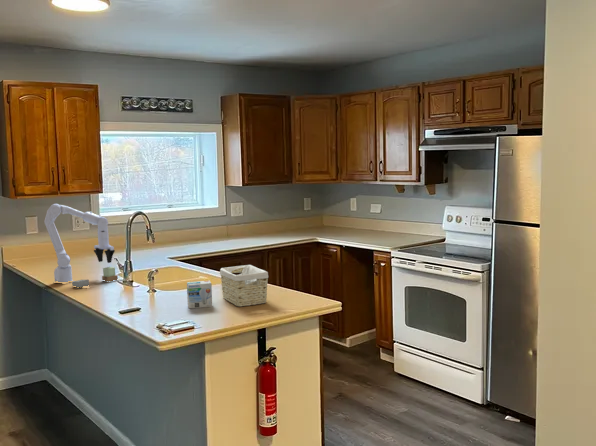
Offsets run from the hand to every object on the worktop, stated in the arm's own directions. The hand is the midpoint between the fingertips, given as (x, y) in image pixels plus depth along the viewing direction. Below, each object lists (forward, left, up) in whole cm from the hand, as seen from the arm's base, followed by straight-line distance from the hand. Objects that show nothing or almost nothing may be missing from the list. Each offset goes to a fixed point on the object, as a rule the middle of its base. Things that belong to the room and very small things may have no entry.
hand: (104, 262), depth 330 cm
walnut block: (+7, -3, -10) cm, 13 cm away
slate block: (+6, -21, -10) cm, 24 cm away
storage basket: (+104, -5, -10) cm, 105 cm away
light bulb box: (+92, -22, -10) cm, 95 cm away
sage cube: (+7, -3, -7) cm, 10 cm away
